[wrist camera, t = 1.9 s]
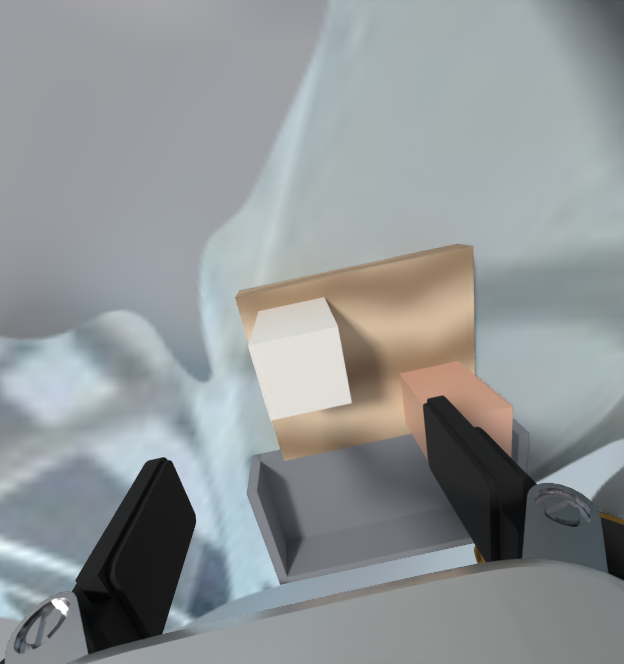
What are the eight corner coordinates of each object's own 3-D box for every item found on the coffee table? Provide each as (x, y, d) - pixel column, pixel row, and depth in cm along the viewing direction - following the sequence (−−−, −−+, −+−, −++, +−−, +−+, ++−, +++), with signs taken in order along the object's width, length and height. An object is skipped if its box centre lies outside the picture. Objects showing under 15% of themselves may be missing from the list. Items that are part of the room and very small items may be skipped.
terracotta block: (399, 373, 23) (435, 423, 18) (458, 361, 23) (513, 406, 18) (405, 422, 25) (439, 482, 19) (460, 410, 25) (510, 466, 19)
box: (252, 456, 27) (246, 493, 24) (496, 403, 27) (529, 433, 24) (281, 540, 31) (280, 584, 27) (494, 494, 31) (523, 532, 27)
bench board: (239, 290, 22) (235, 297, 20) (457, 243, 22) (473, 246, 20) (284, 444, 27) (284, 461, 25) (462, 406, 27) (475, 419, 25)
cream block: (258, 311, 21) (248, 345, 15) (324, 297, 21) (337, 326, 15) (274, 369, 22) (270, 420, 17) (335, 356, 22) (351, 403, 17)
